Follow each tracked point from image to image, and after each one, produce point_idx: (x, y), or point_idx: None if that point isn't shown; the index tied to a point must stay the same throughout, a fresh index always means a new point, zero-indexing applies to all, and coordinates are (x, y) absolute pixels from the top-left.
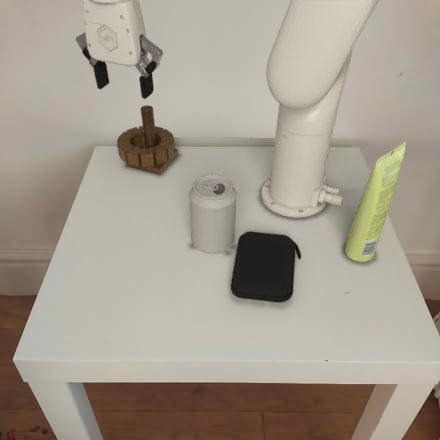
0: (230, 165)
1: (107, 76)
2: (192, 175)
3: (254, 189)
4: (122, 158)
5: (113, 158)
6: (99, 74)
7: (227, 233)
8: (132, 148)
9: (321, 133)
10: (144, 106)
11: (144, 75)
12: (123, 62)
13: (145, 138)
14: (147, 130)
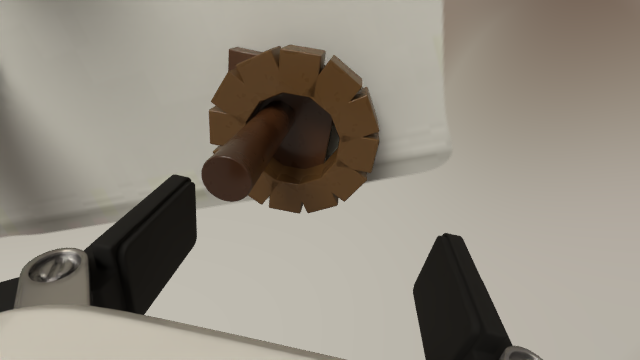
0: (106, 131)
1: (420, 313)
2: (161, 68)
3: (3, 45)
4: (349, 69)
5: (393, 99)
6: (456, 300)
7: None
8: (311, 86)
9: None
10: (241, 191)
11: (68, 260)
12: (112, 340)
13: (270, 119)
14: (249, 127)
